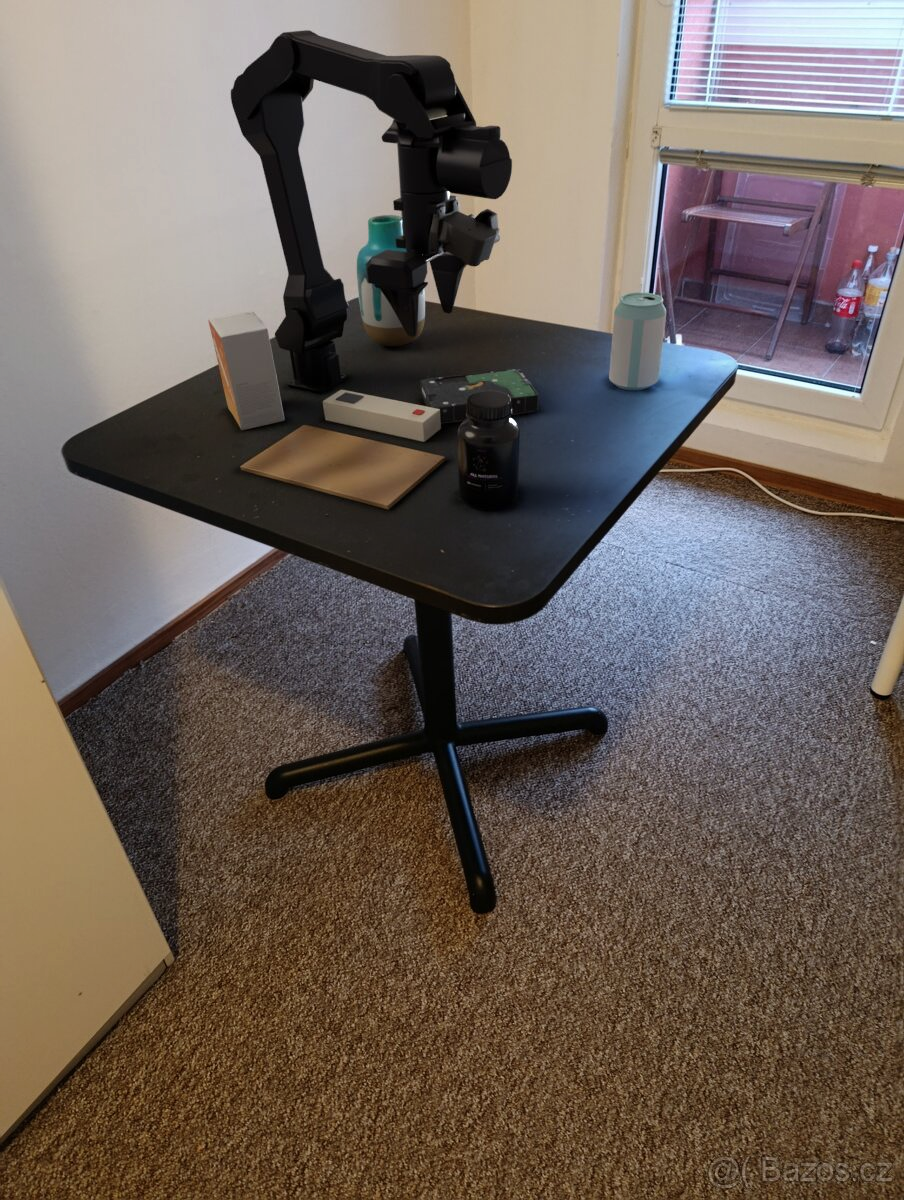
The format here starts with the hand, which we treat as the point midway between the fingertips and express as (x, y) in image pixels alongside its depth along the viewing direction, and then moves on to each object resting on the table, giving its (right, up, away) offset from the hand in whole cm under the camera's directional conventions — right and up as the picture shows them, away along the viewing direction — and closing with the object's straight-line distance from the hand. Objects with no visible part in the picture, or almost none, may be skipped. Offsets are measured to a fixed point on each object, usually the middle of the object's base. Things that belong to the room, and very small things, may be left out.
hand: (430, 324), depth 102 cm
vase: (-7, +8, +32) cm, 33 cm away
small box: (-25, -9, +11) cm, 29 cm away
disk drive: (+6, -8, +11) cm, 15 cm away
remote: (-7, -11, +7) cm, 15 cm away
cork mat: (-11, -18, -2) cm, 21 cm away
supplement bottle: (+7, -23, -9) cm, 26 cm away
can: (+29, -4, +15) cm, 33 cm away
